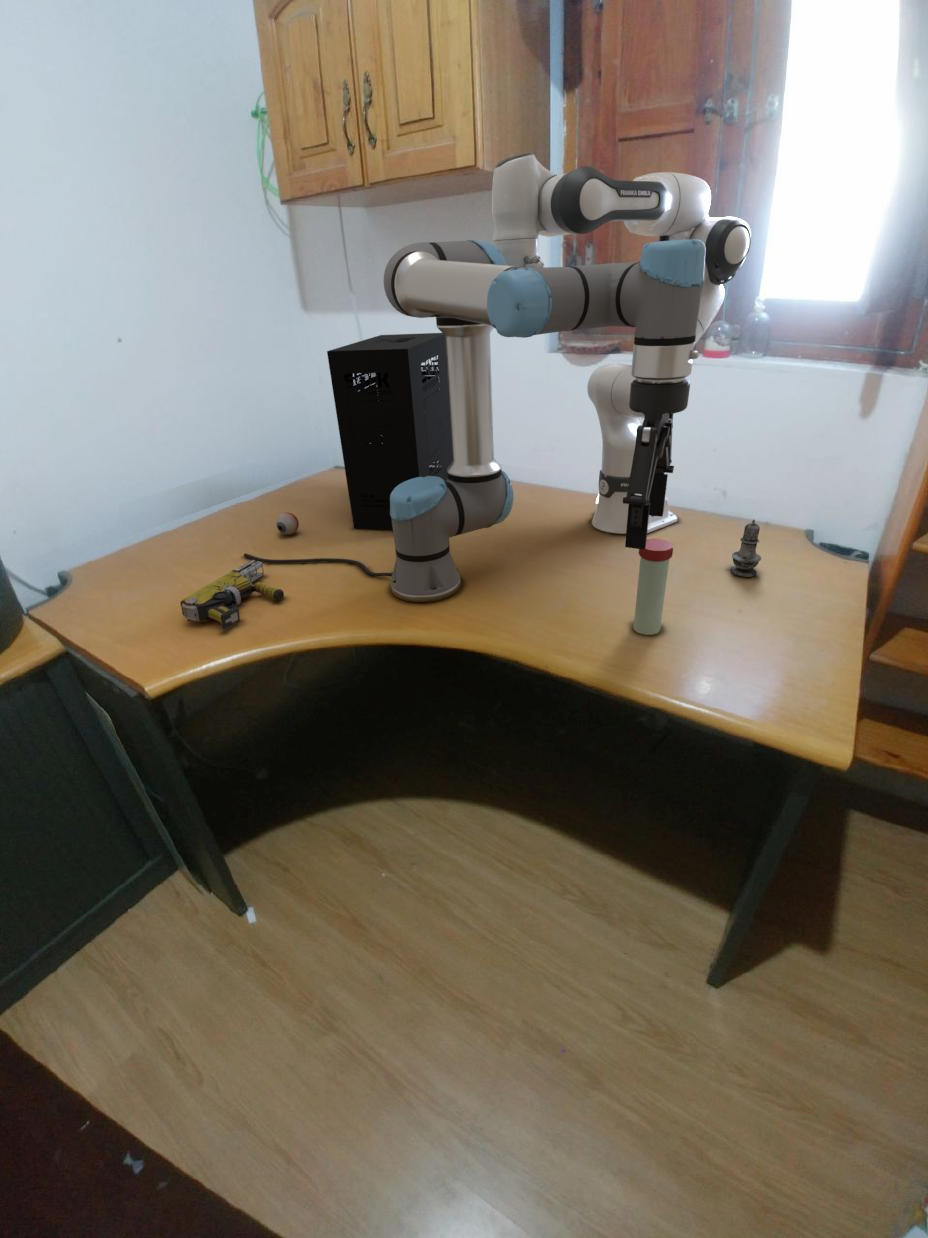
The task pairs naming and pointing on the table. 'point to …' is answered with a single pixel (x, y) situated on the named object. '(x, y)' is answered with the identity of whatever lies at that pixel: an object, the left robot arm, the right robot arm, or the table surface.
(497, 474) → the left robot arm
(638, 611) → the jar
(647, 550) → the lid
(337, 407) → the black computer case
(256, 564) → the toy gun
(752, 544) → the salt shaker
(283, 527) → the eyeball
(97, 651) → the table surface
